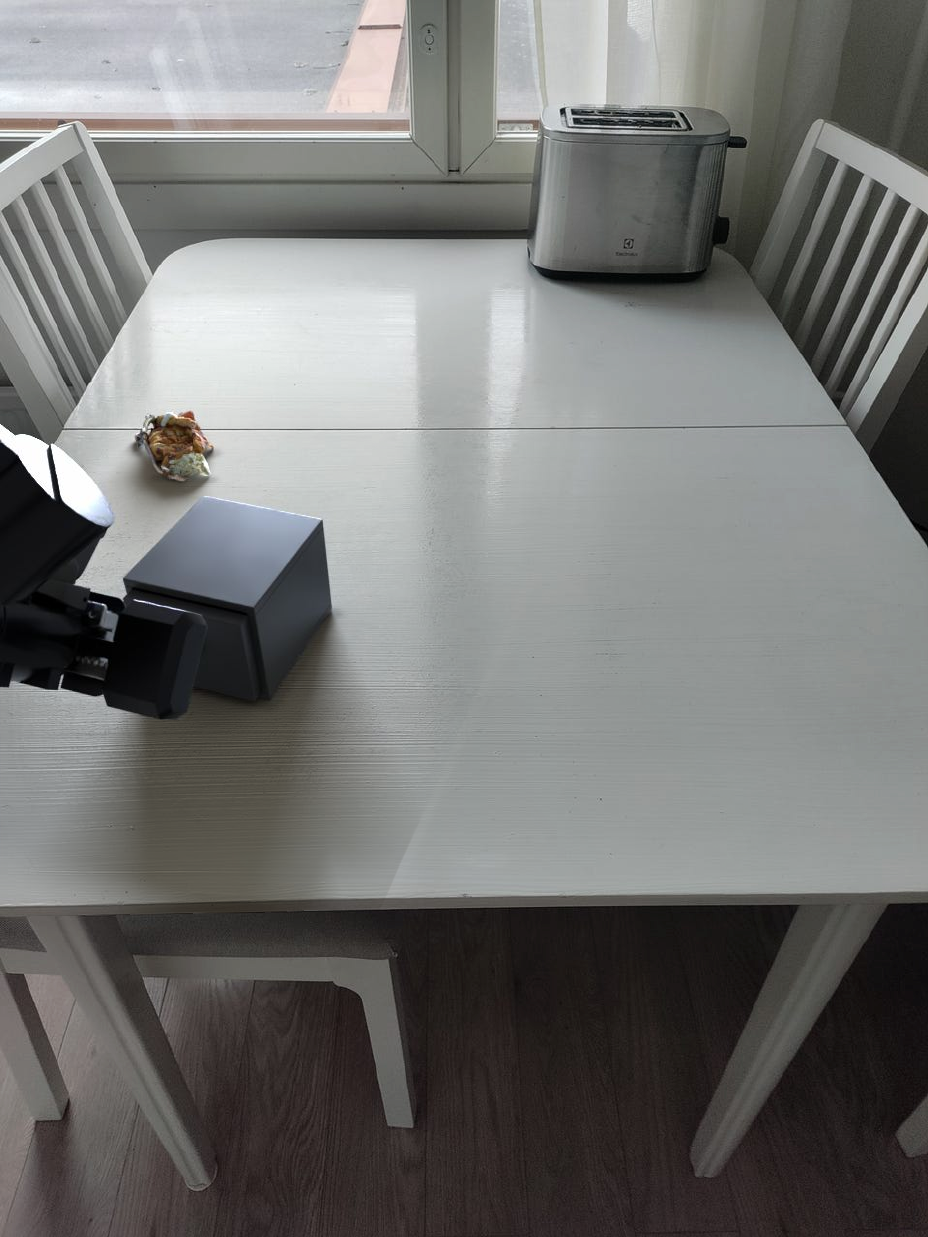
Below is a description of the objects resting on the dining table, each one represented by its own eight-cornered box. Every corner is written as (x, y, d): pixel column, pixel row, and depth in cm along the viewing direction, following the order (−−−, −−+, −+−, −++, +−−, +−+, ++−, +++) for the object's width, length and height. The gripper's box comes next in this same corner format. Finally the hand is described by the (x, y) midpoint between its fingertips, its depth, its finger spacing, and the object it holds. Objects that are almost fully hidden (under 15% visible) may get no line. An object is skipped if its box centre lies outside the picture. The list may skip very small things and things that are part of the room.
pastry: (167, 489, 98) (160, 458, 95) (131, 438, 105) (124, 409, 103) (232, 470, 100) (227, 440, 98) (193, 422, 108) (187, 393, 106)
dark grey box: (270, 700, 75) (253, 608, 69) (147, 670, 77) (121, 578, 71) (332, 608, 83) (323, 518, 77) (220, 584, 86) (203, 495, 80)
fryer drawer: (247, 712, 72) (231, 636, 68) (135, 684, 75) (112, 608, 70) (314, 615, 81) (305, 541, 76) (212, 592, 84) (197, 519, 79)
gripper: (155, 499, 47) (280, 554, 62) (-151, 439, 51) (36, 504, 66) (100, 721, 46) (241, 722, 62) (-205, 642, 51) (-4, 661, 66)
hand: (125, 645), depth 64 cm, fingers closed
